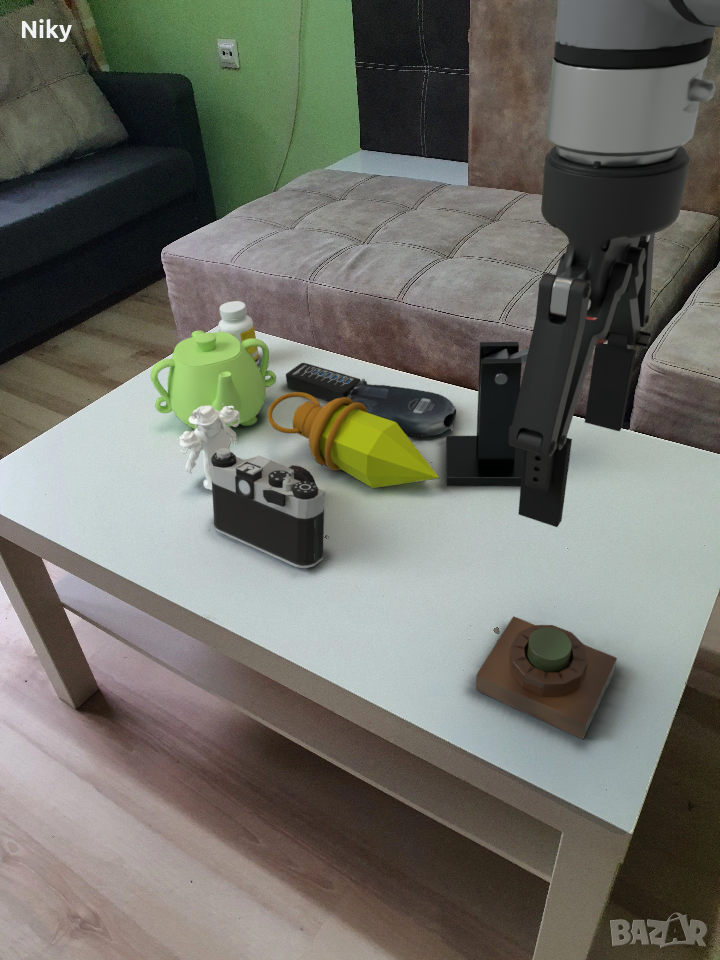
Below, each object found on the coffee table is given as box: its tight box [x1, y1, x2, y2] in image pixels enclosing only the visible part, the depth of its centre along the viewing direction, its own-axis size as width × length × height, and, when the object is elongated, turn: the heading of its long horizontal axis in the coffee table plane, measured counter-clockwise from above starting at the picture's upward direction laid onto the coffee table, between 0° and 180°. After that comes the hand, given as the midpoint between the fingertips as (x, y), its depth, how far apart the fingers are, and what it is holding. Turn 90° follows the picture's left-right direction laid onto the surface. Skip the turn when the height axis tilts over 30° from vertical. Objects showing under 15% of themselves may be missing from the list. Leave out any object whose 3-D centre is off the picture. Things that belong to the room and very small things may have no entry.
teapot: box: [149, 330, 277, 430], centre depth 104 cm, size 16×14×13 cm
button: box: [528, 627, 571, 672], centre depth 66 cm, size 4×4×2 cm
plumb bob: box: [267, 391, 440, 489], centre depth 94 cm, size 9×9×25 cm
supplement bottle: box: [217, 300, 260, 365], centre depth 117 cm, size 5×5×10 cm
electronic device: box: [347, 378, 457, 438], centre depth 104 cm, size 9×6×15 cm
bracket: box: [445, 341, 524, 487], centre depth 90 cm, size 12×9×16 cm
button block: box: [475, 616, 618, 740], centre depth 67 cm, size 10×8×4 cm
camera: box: [210, 448, 326, 569], centre depth 85 cm, size 15×11×10 cm
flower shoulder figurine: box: [177, 403, 240, 491], centre depth 92 cm, size 9×4×12 cm, turn 142°
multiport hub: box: [285, 362, 362, 402], centre depth 111 cm, size 4×11×2 cm, turn 56°
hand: (573, 468), depth 54 cm, fingers open, 12 cm apart
